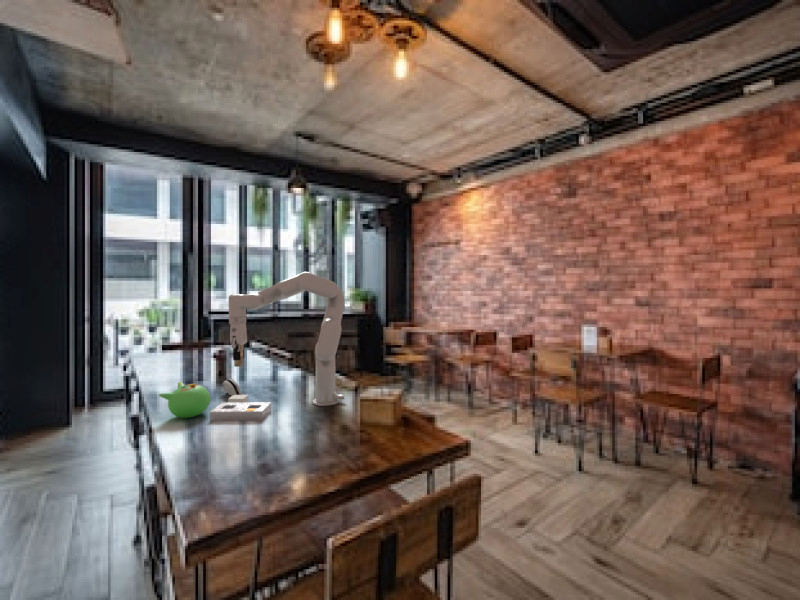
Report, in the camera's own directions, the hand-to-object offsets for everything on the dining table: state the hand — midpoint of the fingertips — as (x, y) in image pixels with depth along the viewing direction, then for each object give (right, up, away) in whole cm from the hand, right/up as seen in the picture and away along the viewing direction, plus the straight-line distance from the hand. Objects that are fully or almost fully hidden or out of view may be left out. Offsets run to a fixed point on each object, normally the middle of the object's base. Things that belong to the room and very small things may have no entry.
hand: (238, 358), depth 196 cm
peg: (0, -3, 0) cm, 3 cm away
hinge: (-11, -23, +21) cm, 33 cm away
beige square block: (0, -23, +1) cm, 23 cm away
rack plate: (+6, -23, -12) cm, 27 cm away
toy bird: (-17, -24, -13) cm, 32 cm away
